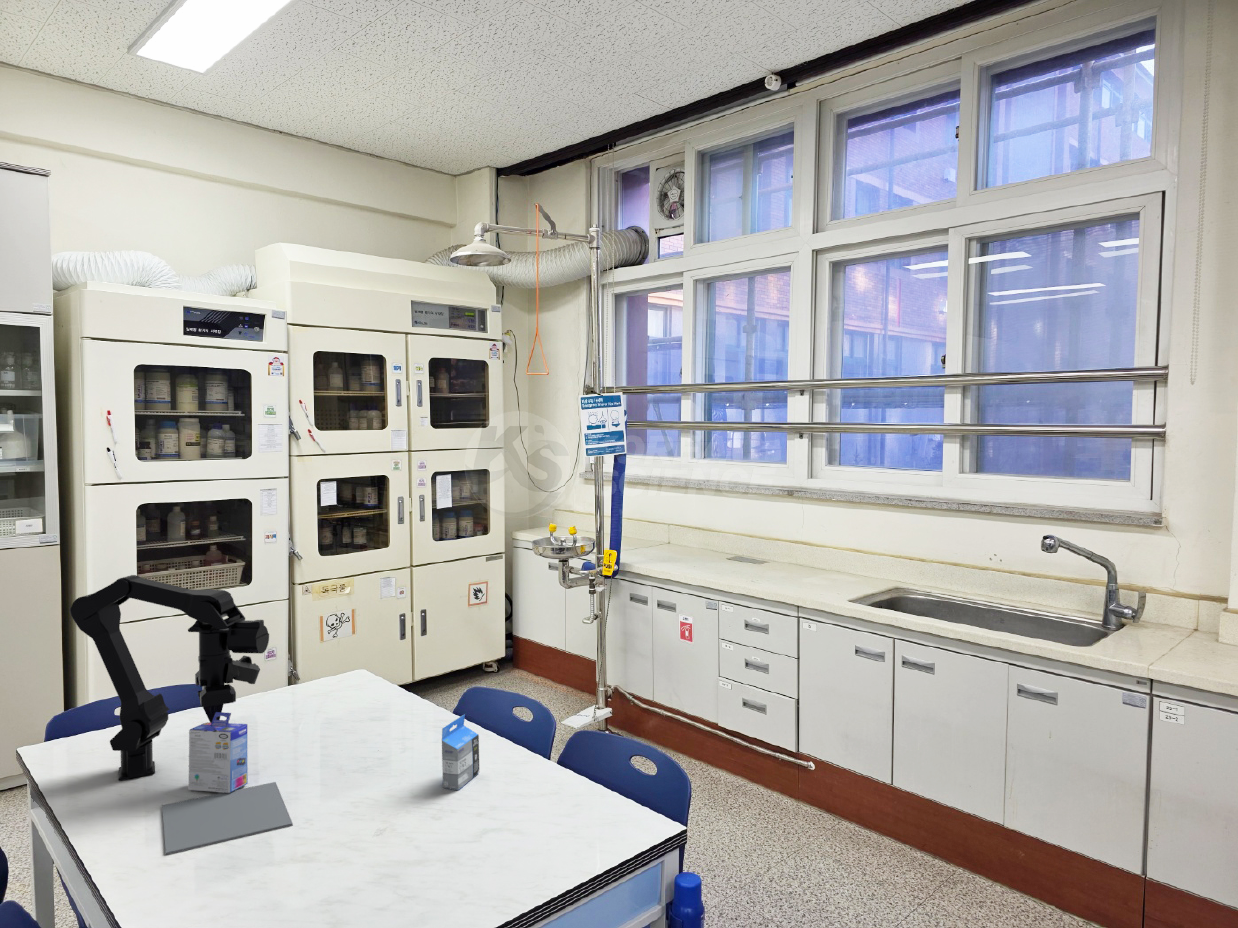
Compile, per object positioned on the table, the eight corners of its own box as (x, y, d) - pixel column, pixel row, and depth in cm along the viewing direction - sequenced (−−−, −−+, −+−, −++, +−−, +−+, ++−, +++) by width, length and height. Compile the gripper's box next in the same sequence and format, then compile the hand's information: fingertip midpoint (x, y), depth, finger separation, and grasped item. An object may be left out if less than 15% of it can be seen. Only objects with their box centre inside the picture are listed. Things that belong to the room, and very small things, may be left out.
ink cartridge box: (250, 783, 160) (249, 711, 160) (231, 794, 154) (230, 720, 155) (207, 780, 162) (206, 709, 162) (187, 790, 156) (186, 717, 157)
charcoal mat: (162, 806, 150) (162, 804, 150) (275, 783, 160) (275, 781, 160) (165, 854, 133) (165, 852, 133) (292, 825, 143) (292, 823, 143)
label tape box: (458, 790, 158) (458, 730, 158) (440, 787, 159) (441, 727, 159) (480, 773, 166) (480, 715, 166) (463, 770, 168) (463, 713, 167)
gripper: (262, 657, 160) (263, 733, 161) (251, 637, 176) (251, 706, 177) (201, 665, 155) (201, 744, 155) (194, 643, 170) (195, 715, 171)
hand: (215, 726), depth 165 cm, fingers closed
